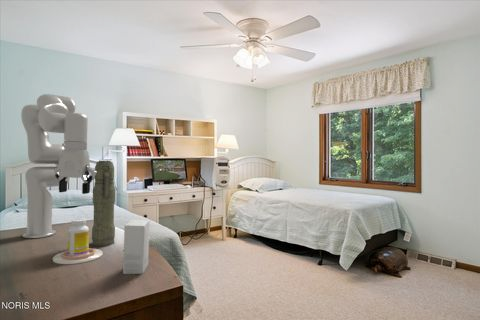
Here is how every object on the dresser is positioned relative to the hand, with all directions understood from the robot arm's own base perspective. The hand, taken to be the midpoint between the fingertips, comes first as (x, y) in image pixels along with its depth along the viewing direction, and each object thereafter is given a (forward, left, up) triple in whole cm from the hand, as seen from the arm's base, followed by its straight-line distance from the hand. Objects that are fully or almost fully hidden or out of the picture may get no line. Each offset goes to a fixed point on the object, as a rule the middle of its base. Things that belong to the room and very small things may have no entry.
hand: (74, 192), depth 111 cm
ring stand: (+4, +1, -23) cm, 23 cm away
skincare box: (+30, +11, -23) cm, 39 cm away
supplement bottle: (+4, +1, -23) cm, 23 cm away
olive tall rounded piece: (-8, +14, -23) cm, 28 cm away
